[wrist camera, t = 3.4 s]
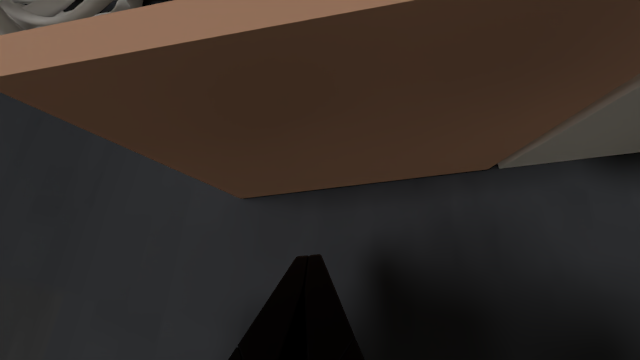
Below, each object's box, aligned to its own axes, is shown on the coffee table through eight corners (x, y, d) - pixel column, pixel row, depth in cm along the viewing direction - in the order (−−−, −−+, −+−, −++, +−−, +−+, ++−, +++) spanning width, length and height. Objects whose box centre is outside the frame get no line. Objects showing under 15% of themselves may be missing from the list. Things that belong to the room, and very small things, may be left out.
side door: (487, 169, 16) (894, -89, 4) (240, 198, 18) (-26, 80, 6) (483, 153, 17) (854, -137, 4) (240, 183, 18) (-15, 37, 6)
